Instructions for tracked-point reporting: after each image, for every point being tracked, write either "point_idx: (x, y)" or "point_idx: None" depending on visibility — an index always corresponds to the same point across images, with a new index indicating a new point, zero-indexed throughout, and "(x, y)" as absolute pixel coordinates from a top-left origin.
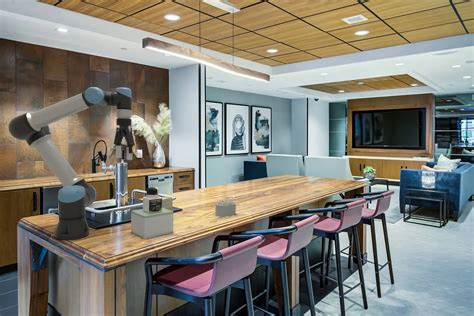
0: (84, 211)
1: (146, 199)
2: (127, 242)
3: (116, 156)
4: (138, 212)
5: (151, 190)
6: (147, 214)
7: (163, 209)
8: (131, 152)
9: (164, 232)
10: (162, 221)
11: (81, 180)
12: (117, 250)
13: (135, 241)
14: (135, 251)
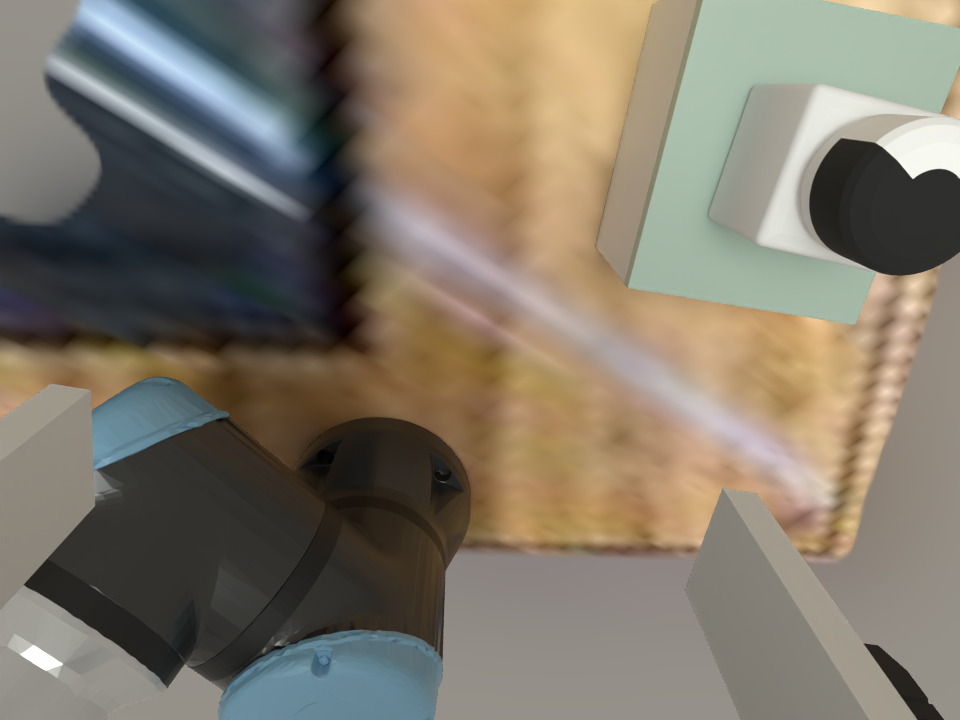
0: (421, 546)
1: (834, 262)
2: (737, 377)
3: (74, 525)
4: (724, 283)
5: (950, 256)
6: (834, 274)
7: (833, 41)
8: (894, 687)
9: None
10: None
11: (132, 644)
12: (790, 474)
13: (763, 338)
14: (881, 430)
